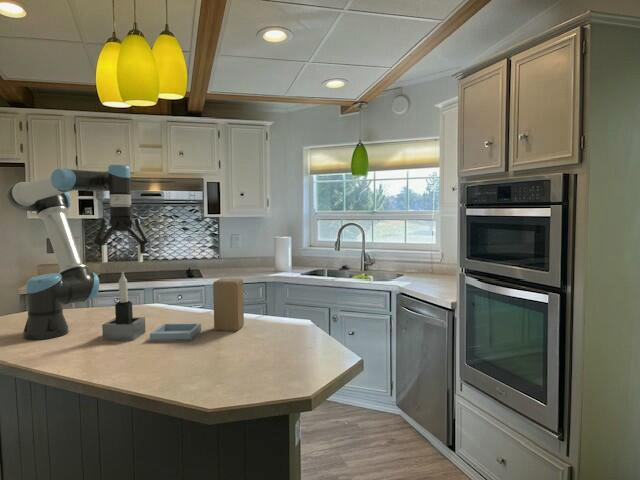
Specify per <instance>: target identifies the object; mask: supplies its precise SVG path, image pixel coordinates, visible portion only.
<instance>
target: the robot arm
mask: <svg viewBox="0 0 640 480" xmlns="http://www.w3.org/2000/svg"><path fill="white" fill-rule="evenodd" d="M131 177H132V176H131V169H130V166H128V165H127V164H110V165H108V168H107V171H96V170H83V169H82V170H81V169H71V168H56V169H54V170H53V171H52V172H51V174H50V175H48V176H44V177H41V178H38V179H35V180H31V181H29V182H27V181H20V182H16V183H14V184H12V185H11V186H10V187H9V188H8V189H7V191H6V200H7V202H8V203H9V204H10V205H11V207H13V208H14V209H16V210H20V211H23V212H35V213H36V214H37V218H38V219H40V220H42V221H43V223H44V226H45V228H46V232H47V235H48V238H49V241H50V244H51V246H52V249H53V254H54V257H55V259H56V261H57V266H58V269H59V271H58V272H51V273H45V274H44V273H43V274H41V275H40V274H39V275H36V276H33V277H31V278H29V279H28V280H27V282H26V290H25V292H26V301H27V307H26V308H27V318H26V319H27V320H26V323H25V326H24V328H23V331H22V332H23V339H24V340H25V339H26V340H34V341H35V340H36V341H37V340H47V339H53V338H57V337H61V336H65V335H67V334H68V333H69V324H68V323H67V321H66V320H67V319H66V318H65V316H64V312H63V306H65V305H70V304H76V303H84V302H87V301H91V300H93V299H95V297H97V295H98V293H99V290H100V279H99V275H97V274H96V273H95V272H93V271H90V269H89V266H88V265H86V264H84V263H83V262H82V259H81V255H80V253H79V250H78V247H77V244H76V241H75V238H74V235H73V233H72V229H71V227H70V223H69V222H68V221H69V220H68V218H67V214H68V212H69V209H70V207H71V196H70V195H71V194H70V193H69V192H73V191H84V192H85V191H87V192H95V193H103V192H108V193H109V205H110V208H109V217H110V218H109V219H106V218H103V219H102V220H101V225H100V227H99V230H98V231H97V234H96V236H95V238H94V241H93V243H94V244H96V245H98V246H99V255H101V262H102V264H104V263H108V261H109V260H108V259H109V258H108V245H107V244H106V243H107V242H108V241H109V239H110V238H111V237H112V236H113V234H114V233H115V232H121V231H122V232H126V231H127V232H129V234H130V235H131V236H132V237H133V238H134V239H135V240H136V242H137V243H138V244H137V263H142V262H144V256H143V255H144V254H145V252H146V244H148V243H150V242H151V241H150V238H149V237H148V235H147V233H146V231H145V229H144V228H143V224H142V222H141V218H135V219H133V218H132V217H133V214H132V212H133V211H132V206H131V205H132V191H131V190H132V189H131V187H132V186H131V185H132V184H131V183H132V182H131V179H132V178H131ZM108 225H110V228H109V229H108V231H107V232H106V230H107V228H108ZM132 225H134V226H135V227H136V229H137V232H136V230H135V228H134V227H133V226H132ZM105 232H106V234H105ZM138 233H139V234H140V235H139V234H138Z"/></svg>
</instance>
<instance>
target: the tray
mask: <svg viewBox="0 0 640 480" xmlns="http://www.w3.org/2000/svg"><path fill="white" fill-rule="evenodd" d="M201 332H202V323H201V322H199V323H197V322H196V323H192V322H191V323H190V322H189V323H187V322H186V323H184V322H183V323H163V324H161V325H159V326H158V327H157V328H156V329H154V330H153V331H151V332H150V333H149V342H151V343H153V342H156V343H157V342H192V340H194V339H195V338H196V337H197V336H198V335H199V334H200V333H201Z"/></svg>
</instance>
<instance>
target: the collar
mask: <svg viewBox="0 0 640 480" xmlns="http://www.w3.org/2000/svg"><path fill="white" fill-rule="evenodd" d="M101 326H102V327H101V328H102V341H108V342H109V340H112V341H135V340H137V339H138V338H140V337H141V336H143V335H144V334H145V333H146V317H138V316H137V317H136V316H135V317H133V322H132V323H128V324H116V317H115V318H112V319H111V320H108V321H106V322H104V323H103V324H102V325H101Z"/></svg>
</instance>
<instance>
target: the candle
mask: <svg viewBox="0 0 640 480" xmlns="http://www.w3.org/2000/svg"><path fill="white" fill-rule="evenodd" d="M118 292H119V293H118V298H119V300H118V301H117V302H116V303H115V304H114V306H115V308H114V309H115V311H114V312H115V313H114V314H115V318H116V324H128V323H132V322H133V302H131V300H129V299H128V298H129V297H128V296H129V295H128V293H129V292H128V279H127V278H126V276H125V272H124V271H121V275H120V279H119V280H118Z"/></svg>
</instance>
